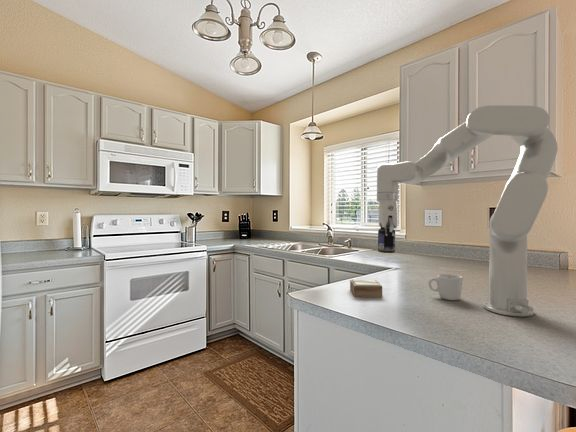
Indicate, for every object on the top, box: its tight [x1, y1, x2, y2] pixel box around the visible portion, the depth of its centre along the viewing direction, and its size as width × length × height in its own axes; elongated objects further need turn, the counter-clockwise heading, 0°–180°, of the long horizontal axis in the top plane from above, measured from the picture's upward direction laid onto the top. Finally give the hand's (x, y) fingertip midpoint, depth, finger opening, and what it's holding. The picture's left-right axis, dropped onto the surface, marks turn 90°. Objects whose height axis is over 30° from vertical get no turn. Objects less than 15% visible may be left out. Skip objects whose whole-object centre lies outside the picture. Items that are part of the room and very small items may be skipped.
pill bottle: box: [377, 223, 396, 254], centre depth 114 cm, size 6×6×11 cm
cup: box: [428, 273, 464, 301], centre depth 108 cm, size 11×8×8 cm
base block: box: [349, 279, 383, 298], centre depth 115 cm, size 10×10×4 cm
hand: (386, 245), depth 114 cm, fingers closed on pill bottle, 6 cm apart
